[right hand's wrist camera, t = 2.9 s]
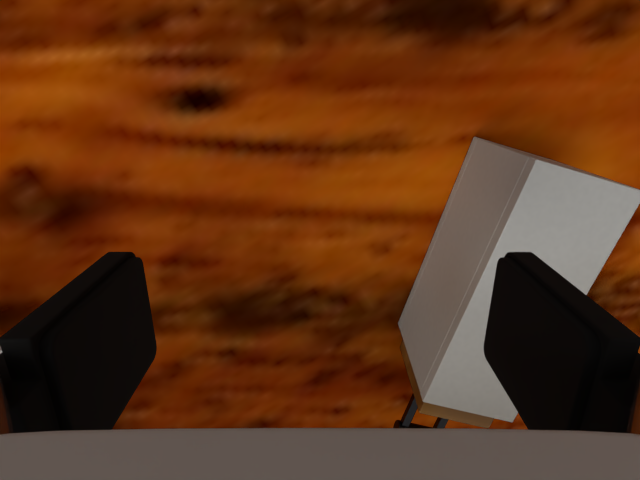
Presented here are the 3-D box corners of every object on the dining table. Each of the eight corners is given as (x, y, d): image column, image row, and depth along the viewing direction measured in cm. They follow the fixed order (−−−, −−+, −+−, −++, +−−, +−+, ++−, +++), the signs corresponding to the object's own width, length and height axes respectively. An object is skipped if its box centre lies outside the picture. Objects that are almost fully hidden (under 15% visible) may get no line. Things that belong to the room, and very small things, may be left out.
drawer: (431, 409, 38) (457, 484, 31) (378, 397, 38) (391, 471, 31) (535, 196, 31) (599, 231, 24) (470, 177, 30) (515, 207, 23)
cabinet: (466, 340, 37) (512, 422, 28) (397, 323, 36) (422, 402, 27) (553, 160, 31) (646, 192, 22) (473, 136, 30) (536, 158, 21)
